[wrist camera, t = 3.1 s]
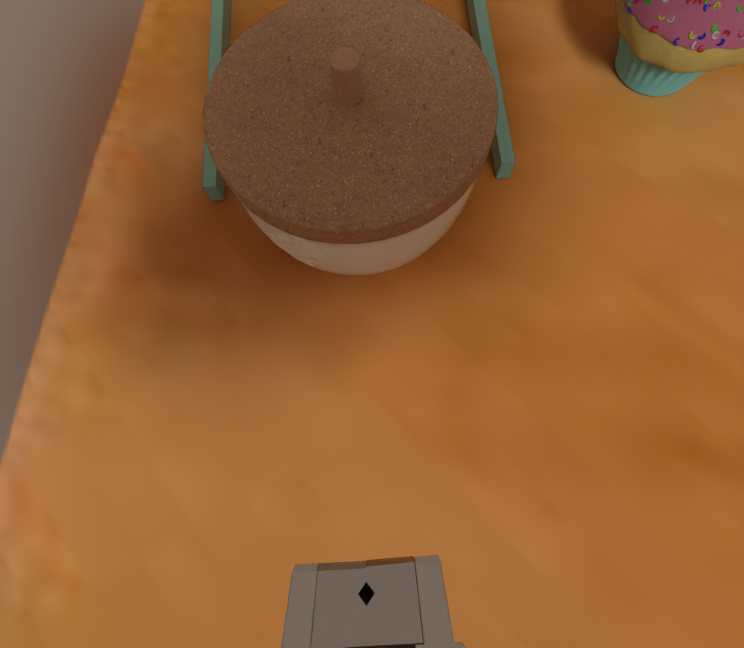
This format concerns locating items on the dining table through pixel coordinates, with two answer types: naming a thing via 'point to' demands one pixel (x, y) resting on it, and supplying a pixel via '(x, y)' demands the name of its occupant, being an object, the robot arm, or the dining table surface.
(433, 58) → the lidded bowl
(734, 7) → the cupcake
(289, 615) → the robot arm
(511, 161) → the teal u-shaped frame
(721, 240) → the dining table surface
